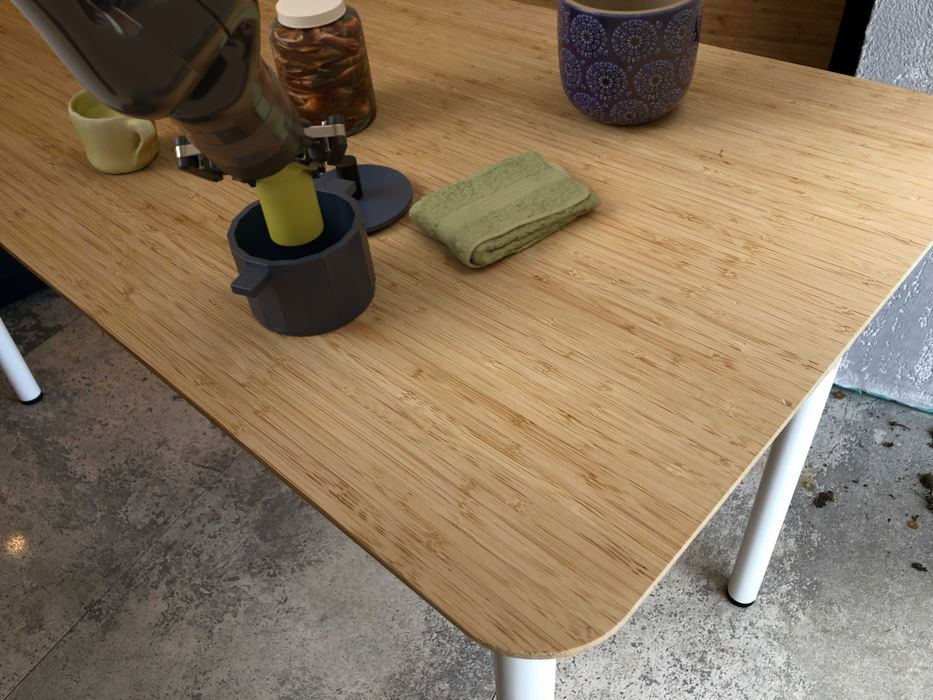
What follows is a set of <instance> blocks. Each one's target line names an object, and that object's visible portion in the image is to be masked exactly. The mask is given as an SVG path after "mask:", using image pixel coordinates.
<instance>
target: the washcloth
mask: <svg viewBox="0 0 933 700" xmlns="http://www.w3.org/2000/svg"><path fill="white" fill-rule="evenodd" d="M601 205H602V199H601V197H599V196H598V195H597V194H596V193H595V192H593V191H591V190H590V189H589V188H588V187H587V186H586V185H583V184H582V183H581V182H579V181H578V180H577V179H576V178H575V177H574V176H572V175H571V174H570V173H569V172H568V170H566V169H565V168H564V167H563V166H561V165H559V164H558V165H557V164H554V163H552V162H551V161H550V160H549V159H547V158H546V157H545V156H544V155H543V153H542V152H541V151H526V152H522V153H520V154H516V155H511V156H510V157H508V156H506V157H504V158H502V159H500V160H499V161H497V162H495V163H494V164H492V165H491V164H490V165H489V166H488V167H485V168H483V169H480V170H477V171H476V172H473V173H472V174H470V175H469V176H467V177H464V178H463V179H460V180H458V181H456V182H455V183H454V182H453V183H451V184H445V185H444V186H443V187H442V188H438V189H436V190H435V191H433V192H431V193H428V194H427V195H423V196H422V198H420V199H419V200H418V201H416V202H415V203H414V204H412V205H411V207H410V209H409V211H408V215H409V216H408V217H409V219H410V220H411V222H413V223H414V224H416V225H417V226H418V227H420V228H421V229H422V230H424V231H426V232H427V233H428V234H429V235H430V236H431V238H434V239H435V241H436V240H437V241H438V240H439V241H440V242H441V243H442V244H444V245H445V246H446V247H448V248H449V250H450V253H451V255H453V256H456V257H457V258H458V259H459V260H460V261H461V263H462V264H464V266H466V267H469V268H474V269H476V268H477V269H478V268H483V267H486V266H487V265H489V264H490V265H491V264H493V263H495V262H496V261H499V260H501V259H502V258H503V257H508V256H509V255H511V254H513V253H516V254H517V253H520V252H522V251H523V250H526V249H527V248H529V247H531V246H532V245H534V244H535V243H538V241H540V240H542V239H544V238H545V237H547V236H549V235H551V234H552V233H555V232H556V231H558V230H560V229H562V228H563V227H565V226H566V225H568V224H570V223H572V222H573V221H574V220H576V219H577V218H578V217H579V216H584V215H586V214H587V213H589V212H590V211H592V210H593V209H598V208H599V207H600V206H601Z"/></svg>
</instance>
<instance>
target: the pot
mask: <svg viewBox="0 0 933 700" xmlns="http://www.w3.org/2000/svg"><path fill="white" fill-rule="evenodd" d="M314 187H315V191H316V195H317V199H318V204H319V208H320V212H321V216H322V220H323V224H324V227H323V231H322V232H321V234H320V235H319V236H318V237H317V238H315V239H314V240H312V241H310V242H308V243H305V244H302V245H297V246H284V245H279V244H277V243H275V242H274V241H273V240H272V239H271V237H270V233H269V230H268V226H267V223H266V220H265V216H264V213H263V210H262V206H261V203H260V200H259V199H256V200H254V201H253V202H251V203H248V204H246V206H245V207H244V208H242V210H241V211H240V212H239V213H238V214H237V215H236V216H234V217H233V218H232V220H231V223H230V225H229V228H228V230H227V232H226V239H227V242H228V246H229V249H230V253H231V255H232V257H233V261H234V264H235V267H236V270H237V272H238V276H236V278H235V279H234V280H233V281H232V282H231V283H230V284H229V286H230V289H231V292H232V294H235V295H238V296H242V297H245V298H247V301H248V305H249V308H250V310H251V314H252V316H253V317H254V319H255V320H256V321H257V322H258V324H260V325H261V327H263V328H265V329H267V330H268V331H271V332H273V333H275V334H279V335H283V336H289V337H309V336H310V337H311V336H316V335H317V336H318V335H322V334H326V333H329V332H332V331H335V330H337V329H339V328H341V327H342V328H343V327H344V326H346V325H347V324H350V323H352V322H353V321H355V319H357V318H359V316H361V315H362V314H363V313H364V312H365V311H366V310H367V308H369V306H370V304H371V303H372V301H373V299H374V297H375V294H376V289H377V286H376V285H377V283H376V281H377V277H376V273H375V268H374V262H373V258H372V257H373V256H372V253H371V248H370V242H369V237H368V232H366V228H365V223H364V218H363V213H362V211H361V209H360V207H359V205H358V203H357V201H356V200H355V199H354V198H352V197H351V195H352V194H353V193H354V192H355V191H356V190H357V189H356V184H355V182H354V181H349V180H344V179H338V178H334V179H333V180H332V181H331V182H330V183H329V184H328V185H327V186H326V187H321V186H314Z"/></svg>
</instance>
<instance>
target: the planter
mask: <svg viewBox="0 0 933 700" xmlns="http://www.w3.org/2000/svg"><path fill="white" fill-rule="evenodd" d="M556 1H557V2H556V27H557V28H556V32H557V33H556V34H557V55H558V68H559V76H560V82H561V86H562V89H563V92H564V94H565V96H566V97H567V99H568V101H569V102H570V103H571V104H572V106H573V107H574V108H575V109H576V110H577V111H579V112H580V113H581V114H582V115H584V116H586V117H587V118H589V119H592V120H593V121H596V122H599V123H603V124H606V125H607V124H608V125H614V126H634V125H641V124H645V123H649V122H651V121H655V120H658V119H659V118H662V117H664V116H665V115H667V114H668V113H669V112H671V111H672V110H674V108H676V107H677V105H678V104H679V103H680V102H681V101H682V100H683V99H684V97H685V96H686V94H687V93H688V92H689V89H690V86H691V84H692V81H693V77H694V74H695V69H696V64H697V58H698V51H699V45H700V39H701V38H700V37H701V30H702V22H703V13H704V12H703V11H704V2H705V1H704V0H556Z"/></svg>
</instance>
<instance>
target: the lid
mask: <svg viewBox="0 0 933 700" xmlns="http://www.w3.org/2000/svg"><path fill="white" fill-rule="evenodd" d="M334 167H335V168H333V169H330V170H326V172H325V173H320V176H321V178H318V179H313V183H314V186H321V187H326V186H327V185H328V184H329V183H330V182H331V181H332V180H333V179H334V178H338V179H344V180H349V181H354V182H355V184H356V189H357V190H356V191H355V192H354V193H353V194H352V195H351V197H352V198H354V199H355V200H356V201H357V203H358V205H359V207H360V209H361V211H362V213H363V218H364V223H365V228H366V232H367V233H370V232H374V231H377V230H380V229H382V228H384V227H386V226H388V225H390V224H392V223H394V222H396V221H397V220H398V219H399V218H401V217H402V216H403V215H404V214H405V213H406V212H407V211H408V209H409V208H410V206H411V205H412V202H413V198H414V190H413V189H414V188H413V184H412V183H411V181H410V179H409V178H408V177H407V176H406V175H405V174H404V173H402V172H401V171H399V170H397V169H395V168H393V167H390V166H386V165H382V164H373V163H360V164H358V160H357V157H355V155H351V154H344V157H343V159H342V162H341V164H339V165H337V166H334Z"/></svg>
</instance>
